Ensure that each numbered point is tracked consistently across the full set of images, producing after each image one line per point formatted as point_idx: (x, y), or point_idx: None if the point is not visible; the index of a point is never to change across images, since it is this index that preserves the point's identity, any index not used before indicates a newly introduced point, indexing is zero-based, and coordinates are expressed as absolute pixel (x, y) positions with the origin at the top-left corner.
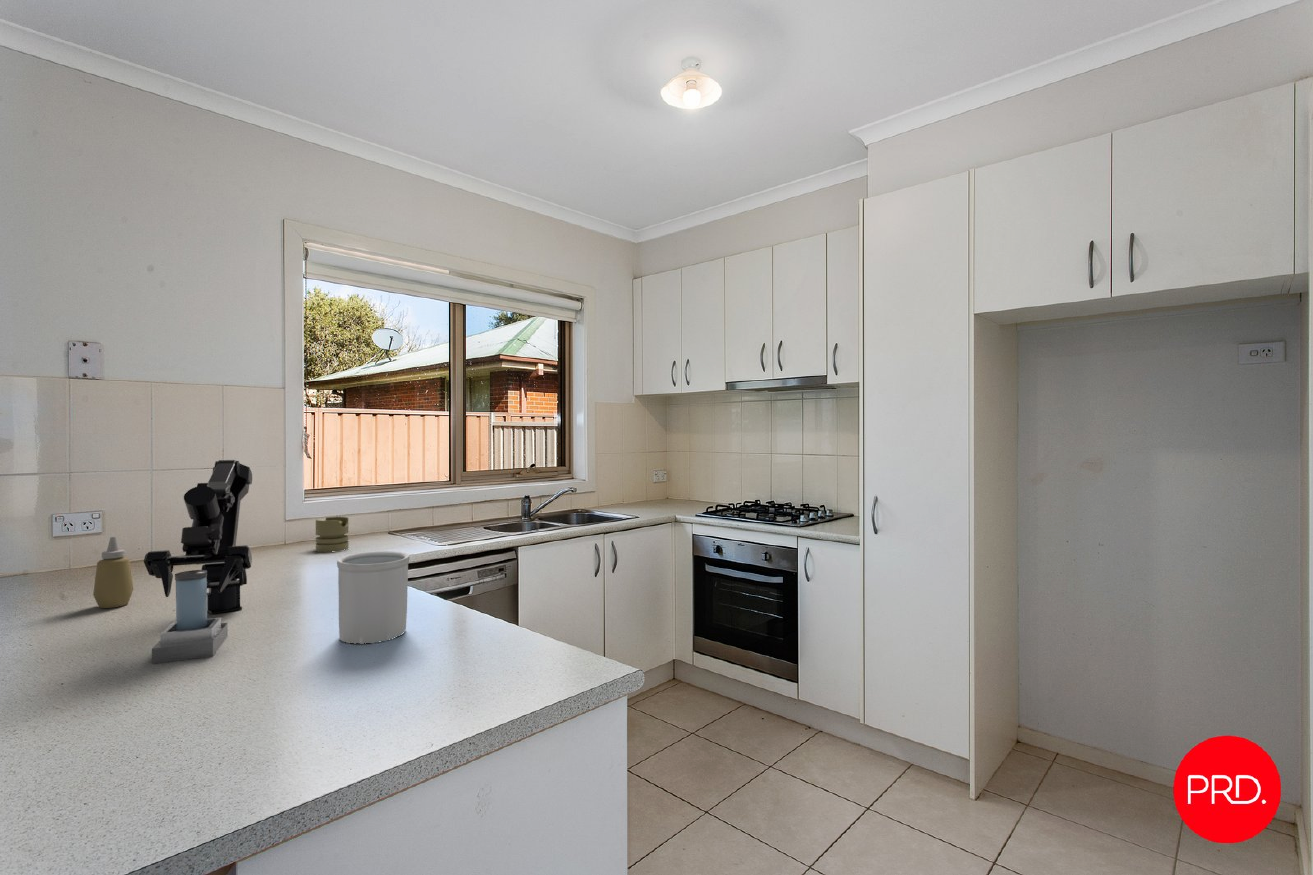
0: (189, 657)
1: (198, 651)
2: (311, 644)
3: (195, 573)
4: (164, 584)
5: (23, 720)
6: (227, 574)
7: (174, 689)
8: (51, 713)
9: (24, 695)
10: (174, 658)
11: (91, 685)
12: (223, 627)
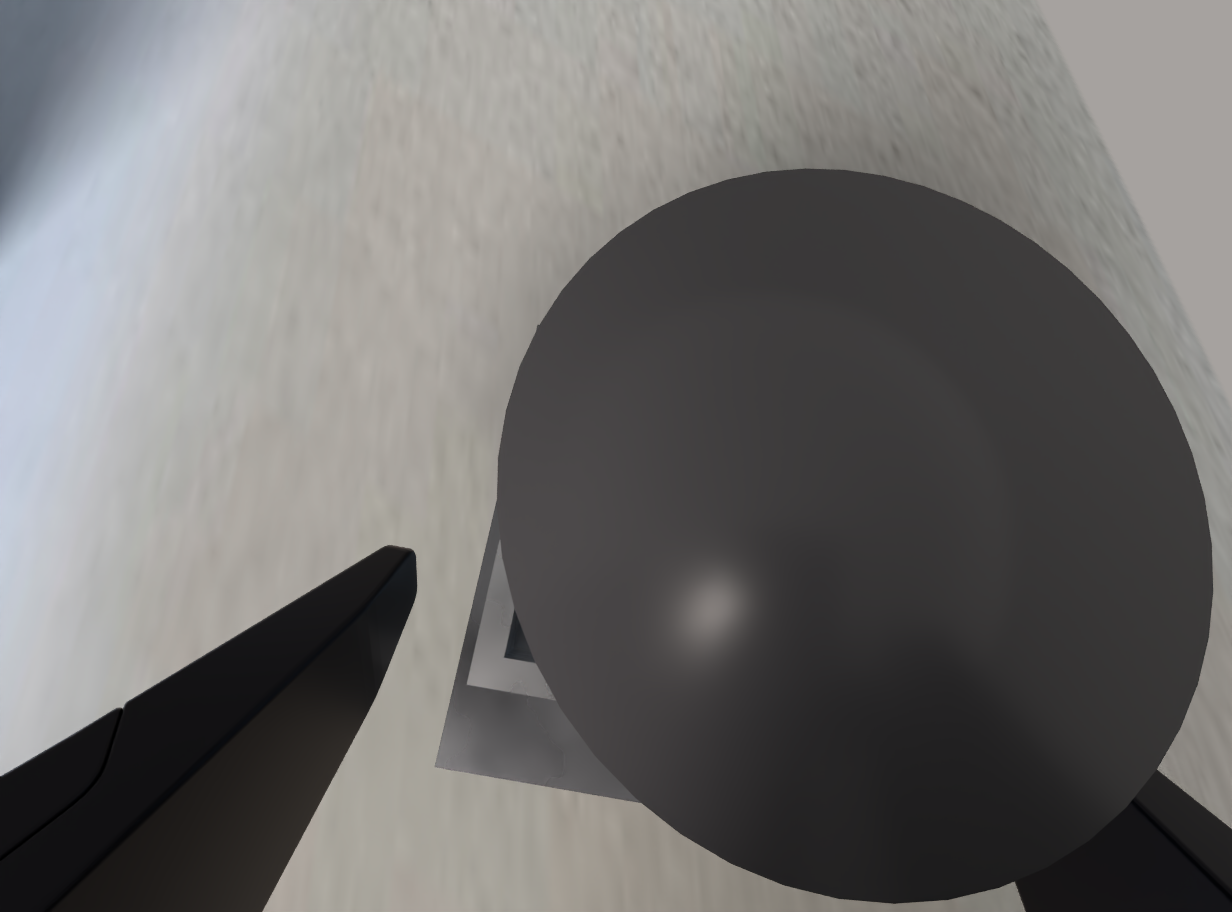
0: None
1: None
2: (107, 281)
3: (752, 301)
4: (1183, 797)
5: (1032, 48)
6: (97, 725)
7: (666, 51)
8: (977, 59)
9: (1135, 280)
10: None
11: None
12: (468, 630)
